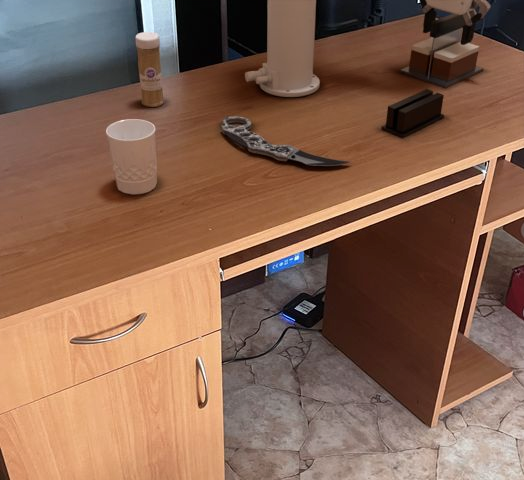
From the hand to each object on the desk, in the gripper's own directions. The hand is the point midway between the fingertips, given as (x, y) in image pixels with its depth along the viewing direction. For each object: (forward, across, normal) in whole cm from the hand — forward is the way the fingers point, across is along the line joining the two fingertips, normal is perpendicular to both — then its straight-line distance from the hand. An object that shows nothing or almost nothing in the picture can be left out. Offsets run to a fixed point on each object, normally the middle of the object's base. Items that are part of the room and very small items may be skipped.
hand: (446, 37), depth 167 cm
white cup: (+8, -5, -79) cm, 79 cm away
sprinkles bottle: (+8, -30, -56) cm, 64 cm away
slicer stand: (+7, +12, -26) cm, 29 cm away
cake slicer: (+7, 0, 0) cm, 7 cm away
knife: (+8, +1, -52) cm, 53 cm away
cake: (+7, 0, 0) cm, 7 cm away
